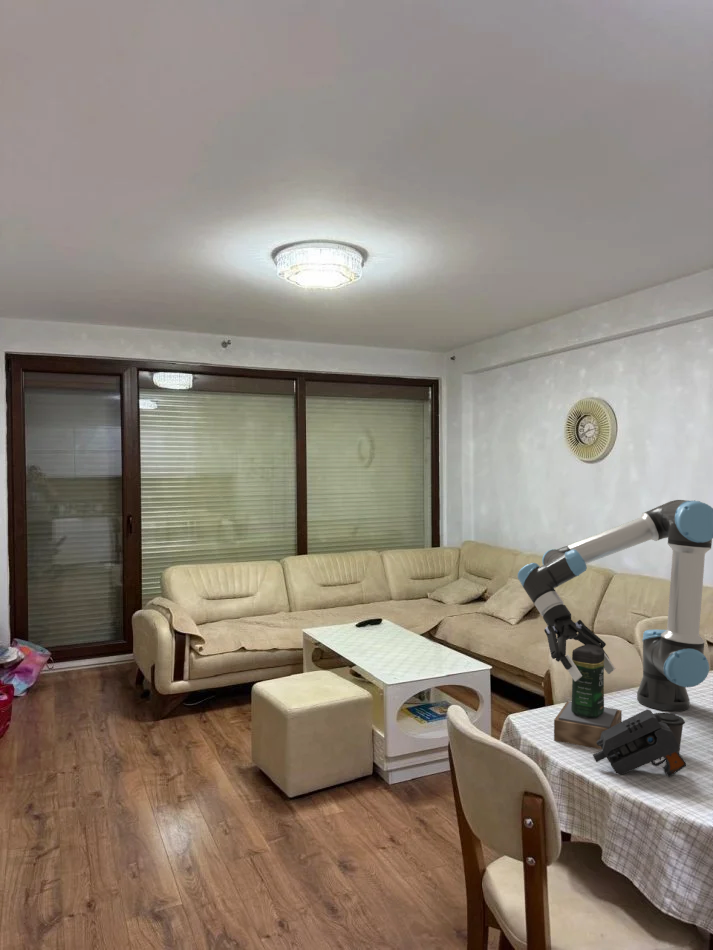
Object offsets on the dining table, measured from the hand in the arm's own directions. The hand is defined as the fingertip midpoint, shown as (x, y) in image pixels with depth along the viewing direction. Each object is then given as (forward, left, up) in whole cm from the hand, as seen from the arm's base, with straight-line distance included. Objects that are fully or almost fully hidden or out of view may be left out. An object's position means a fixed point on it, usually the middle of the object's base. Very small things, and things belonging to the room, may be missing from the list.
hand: (595, 675), depth 180 cm
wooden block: (+2, -1, -17) cm, 17 cm away
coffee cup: (-18, +2, -17) cm, 25 cm away
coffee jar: (+2, -1, -11) cm, 12 cm away
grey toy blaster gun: (-12, +17, -17) cm, 27 cm away
